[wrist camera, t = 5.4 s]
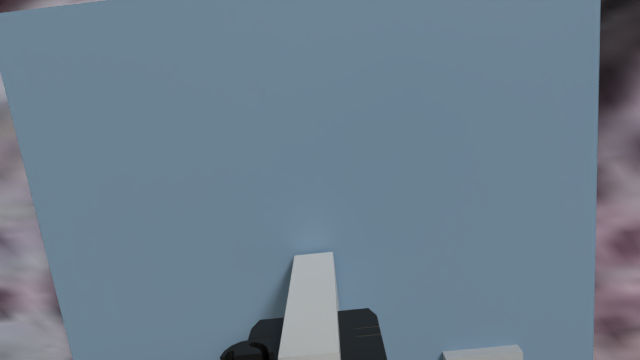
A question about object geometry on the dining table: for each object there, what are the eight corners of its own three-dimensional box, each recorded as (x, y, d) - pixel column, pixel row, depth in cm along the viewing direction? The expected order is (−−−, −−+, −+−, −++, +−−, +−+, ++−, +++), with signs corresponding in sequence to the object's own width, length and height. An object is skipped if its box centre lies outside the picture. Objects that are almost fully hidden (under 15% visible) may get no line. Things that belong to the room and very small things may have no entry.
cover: (581, -49, 16) (611, -64, 14) (576, 361, 19) (599, 387, 18) (10, 19, 17) (-25, 12, 15) (102, 404, 20) (82, 432, 18)
